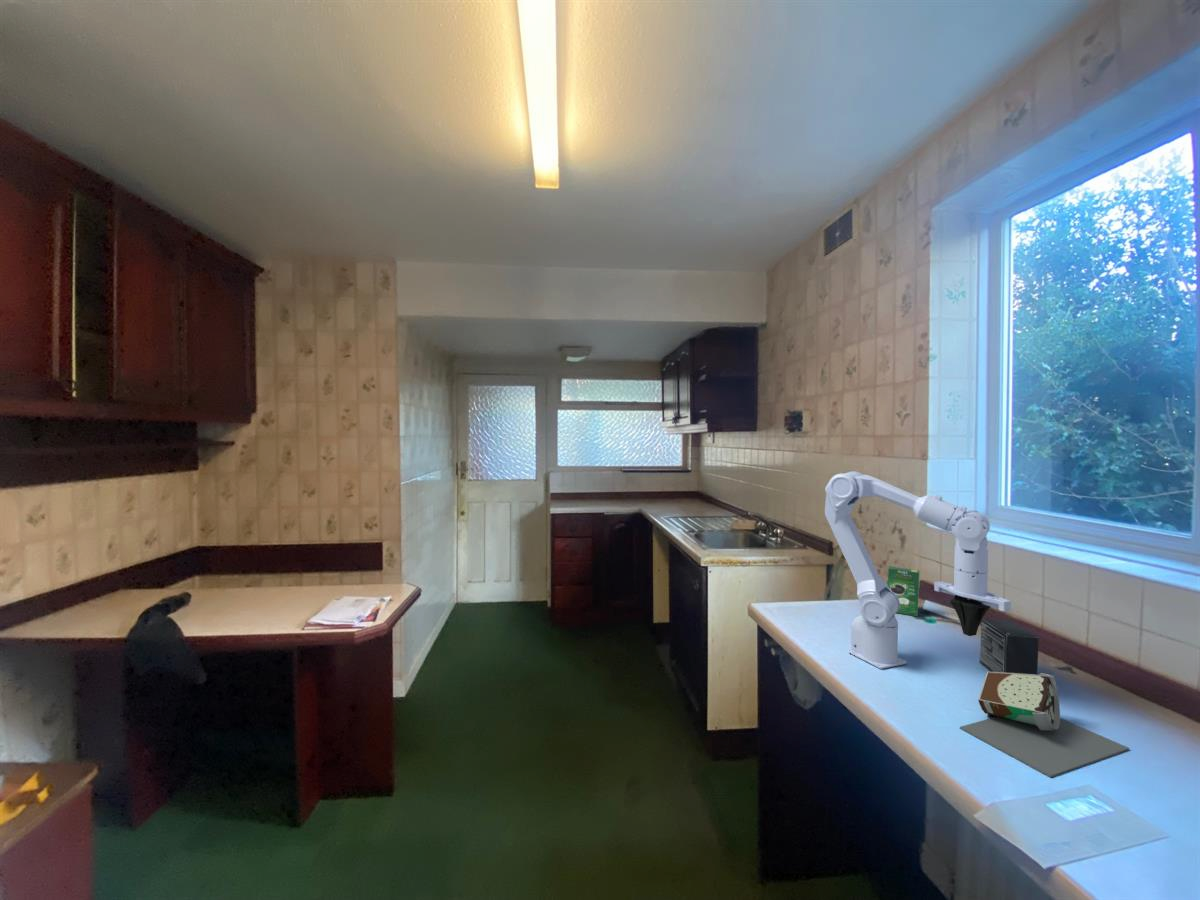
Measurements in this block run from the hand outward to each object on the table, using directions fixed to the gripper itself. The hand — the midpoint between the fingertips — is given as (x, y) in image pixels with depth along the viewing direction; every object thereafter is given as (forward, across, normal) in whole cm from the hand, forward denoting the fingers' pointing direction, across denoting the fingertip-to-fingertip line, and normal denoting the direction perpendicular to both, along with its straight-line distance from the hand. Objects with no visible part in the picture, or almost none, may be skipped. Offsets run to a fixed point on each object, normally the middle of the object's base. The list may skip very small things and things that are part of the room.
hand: (969, 634), depth 108 cm
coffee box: (+11, +36, -24) cm, 45 cm away
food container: (+8, -8, +7) cm, 14 cm away
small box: (+11, 0, -12) cm, 16 cm away
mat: (+10, -18, +8) cm, 22 cm away
